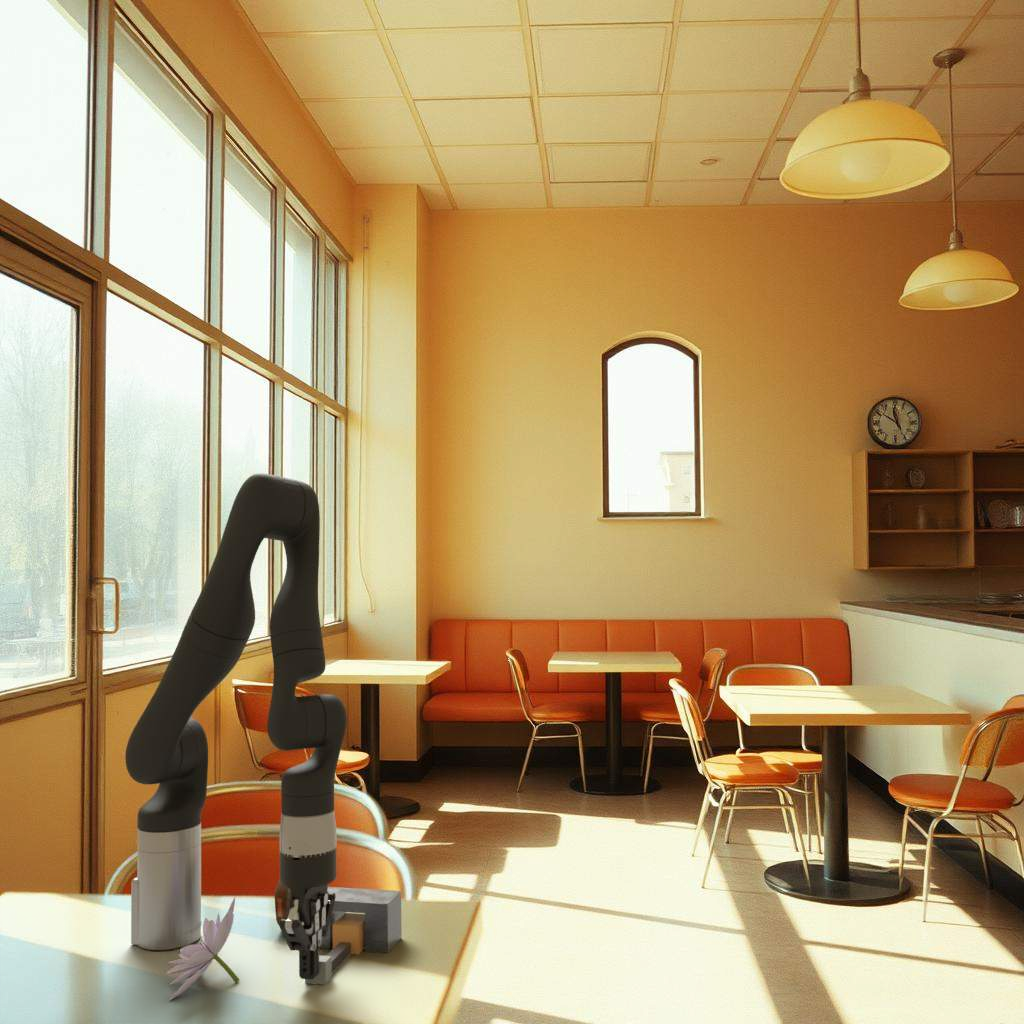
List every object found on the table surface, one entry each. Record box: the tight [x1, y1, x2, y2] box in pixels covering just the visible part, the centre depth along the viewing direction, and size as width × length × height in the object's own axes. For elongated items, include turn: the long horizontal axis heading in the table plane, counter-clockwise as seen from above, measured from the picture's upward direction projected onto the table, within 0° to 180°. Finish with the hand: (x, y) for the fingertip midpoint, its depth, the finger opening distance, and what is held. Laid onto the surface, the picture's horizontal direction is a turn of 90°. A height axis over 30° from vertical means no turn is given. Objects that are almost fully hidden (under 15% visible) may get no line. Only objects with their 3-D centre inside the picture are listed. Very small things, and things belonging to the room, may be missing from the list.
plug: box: [304, 912, 365, 985], centre depth 143 cm, size 4×16×4 cm, turn 168°
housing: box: [319, 886, 402, 954], centre depth 151 cm, size 12×6×7 cm, turn 77°
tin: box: [274, 879, 290, 927], centre depth 161 cm, size 15×3×8 cm, turn 168°
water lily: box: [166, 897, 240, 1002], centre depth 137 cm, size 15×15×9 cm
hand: (309, 977), depth 134 cm, fingers closed
